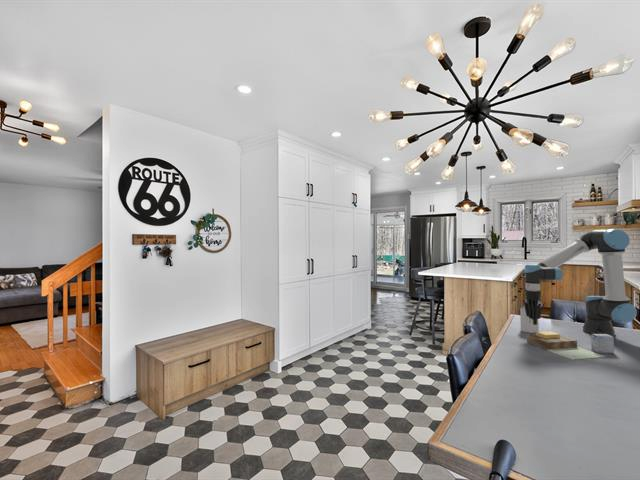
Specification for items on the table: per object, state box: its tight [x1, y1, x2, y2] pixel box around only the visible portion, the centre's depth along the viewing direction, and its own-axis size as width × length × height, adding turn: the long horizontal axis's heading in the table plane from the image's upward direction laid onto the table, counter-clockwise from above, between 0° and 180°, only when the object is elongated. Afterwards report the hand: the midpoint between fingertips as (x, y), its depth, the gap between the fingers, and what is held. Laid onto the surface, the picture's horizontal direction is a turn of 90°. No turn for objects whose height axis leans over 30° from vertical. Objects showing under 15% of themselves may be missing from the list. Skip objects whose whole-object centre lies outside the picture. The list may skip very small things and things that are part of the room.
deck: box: [526, 333, 578, 351], centre depth 175 cm, size 18×14×4 cm
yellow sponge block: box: [536, 330, 561, 339], centre depth 177 cm, size 9×6×2 cm, turn 99°
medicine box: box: [590, 334, 615, 354], centre depth 164 cm, size 8×4×9 cm, turn 84°
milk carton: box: [519, 304, 540, 334], centre depth 201 cm, size 7×7×19 cm
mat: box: [546, 346, 607, 361], centre depth 161 cm, size 20×14×1 cm
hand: (533, 329), depth 187 cm, fingers closed
